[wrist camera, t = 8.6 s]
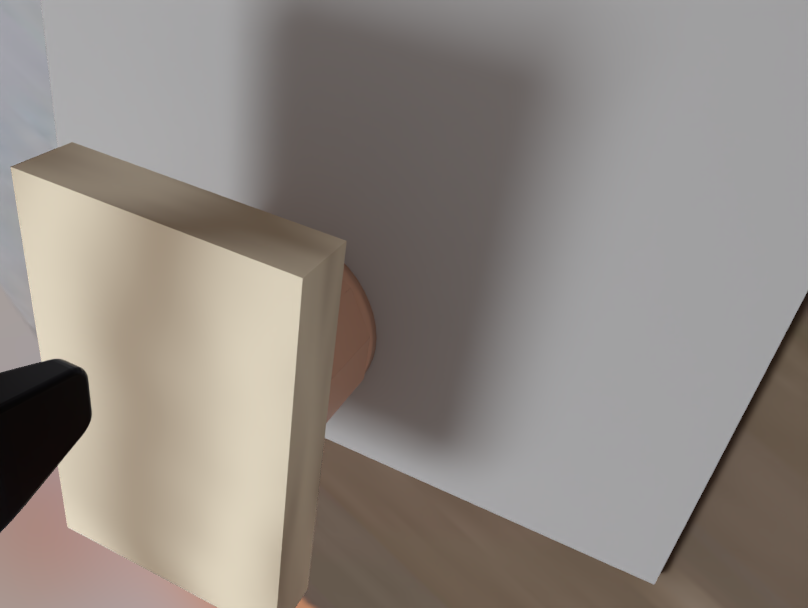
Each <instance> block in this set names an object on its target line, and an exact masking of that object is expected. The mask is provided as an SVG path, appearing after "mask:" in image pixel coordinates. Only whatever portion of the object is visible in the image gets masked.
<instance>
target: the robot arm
mask: <svg viewBox="0 0 808 608" xmlns="http://www.w3.org/2000/svg"><path fill="white" fill-rule="evenodd" d="M91 418H92V407H91V398H90V390H89V381H88V375H87V373H86V372H85V370H84V369H83V368H81V367H79V366H77V365H74V364H72V363H70V362H68V361H66V360H63V359H51V360H47V361H43V362H39V363H35V364H31V365H28V366H24V367H20V368H16V369H12V370H9V371H5V372H1V373H0V532H1V531H2V530H3V529H4V528H5V527H6V526H7V525H8V524H9V523H10V522H11V521H12V519H14V517H15V516H16V515H17V514H18V513H19V512H20V511H21V509H22V508H23V507H24V506H25V505H26V504H27V502H28V501H29V500H30V499H31V497H32V496H33V495H34V494H35V493H36V491H37V490H38V489H39V488H40V486H41V485H42V484H43V483H44V481H45V480H46V479H47V478H48V477H49V476H50V474H51V473H52V472H53V471H54V469H55V468H56V467H57V466H58V465H59V463H60V462H61V461H62V460H63V458H64V457H65V456H66V455H67V454H68V452H69V451H70V450H71V449H72V448H73V446H74V445H75V444H76V443H77V441H78V440H79V439H80V438H81V437H82V435H83V434H84V433H85V431H86V430H87V428H88V426H89V424H90V422H91Z"/></svg>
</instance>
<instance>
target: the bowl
mask: <svg viewBox="0 0 808 608" xmlns="http://www.w3.org/2000/svg"><path fill="white" fill-rule="evenodd" d="M376 339H377V336H376V324H375V319H374V314H373V311H372V308H371V305H370V302H369V300H368V298H367V296H366V293H365V291H364V290H363V288H362V286H361V284H360V283H359V281H358V279H357V278H356V277H355V275H354V274H353V273H352V271H351V270H350V269H349V268H348V266H347V265H346V264H345V263H344V270H343V278H342V287H341V296H340V305H339V314H338V323H337V332H336V341H335V350H334V359H333V368H332V377H331V385H330V394H329V403H328V412H327V421H326V423H327V422H328V421H329V419H330V418H331V417H332V416H333V415H334V414H335V412H336V411H337V410H338V409H339V408H340V406H341V405H342V404H343V403H344V402H345V401H346V399H347V398H348V397H349V396H350V395H351V393H352V392H353V391H354V390H355V389H356V387H357V386H358V385H359V384H360V383H361V382H362V380H363V379H364V375H365V373H366V372H367V370H368V368H369V367H370V365H371V362H372V360H373V358H374V353H375V349H376Z"/></svg>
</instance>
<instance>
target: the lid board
mask: <svg viewBox="0 0 808 608" xmlns="http://www.w3.org/2000/svg"><path fill="white" fill-rule="evenodd" d="M11 173H12V179H13V185H14V192H15V198H16V204H17V210H18V217H19V223H20V229H21V236H22V242H23V248H24V255H25V261H26V267H27V274H28V280H29V286H30V293H31V299H32V305H33V312H34V318H35V324H36V331H37V337H38V343H39V349H40V355H41V362H43V361H47V360H51V359H63V360H66V361H68V362H70V363H72V364H74V365H77V366H79V367H81V368H83V369H84V370H85V372H86V373H87V375H88V381H89V390H90V398H91V407H92V418H91V422H90V424H89V426H88V428H87V430H86V431H85V433H84V434H83V435H82V437H81V438H80V439H79V440H78V441H77V443H76V444H75V445H74V446H73V448H72V449H71V450H70V451H69V452H68V454H67V455H66V456H65V457H64V458H63V460H62V461H61V462H60V463H59V465H58V469H59V475H60V482H61V488H62V495H63V501H64V507H65V514H66V520H67V526H68V528H70V529H72V530H74V531H76V532H78V533H79V534H81V535H83V536H85V537H87V538H89V539H91V540H93V541H94V542H96V543H98V544H100V545H102V546H104V547H106V548H107V549H109V550H111V551H113V552H115V553H117V554H119V555H121V556H122V557H124V558H126V559H128V560H130V561H132V562H134V563H136V564H137V565H139V566H141V567H143V568H145V569H147V570H149V571H151V572H152V573H154V574H156V575H158V576H160V577H162V578H164V579H166V580H167V581H169V582H171V583H173V584H175V585H177V586H179V587H180V588H182V589H184V590H186V591H188V592H190V593H192V594H193V595H195V596H197V597H199V598H201V599H203V600H205V601H207V602H208V603H210V604H212V605H214V606H216V607H218V608H295V607H296V606H297V604H298V603H299V601H300V600H301V598H302V597H303V595H304V594H305V593H306V591H307V590H308V582H309V573H310V564H311V555H312V546H313V537H314V528H315V519H316V510H317V501H318V492H319V484H320V475H321V466H322V457H323V448H324V439H325V430H326V421H327V412H328V403H329V394H330V385H331V377H332V368H333V359H334V350H335V341H336V332H337V323H338V314H339V305H340V296H341V287H342V278H343V270H344V261H345V252H346V243H347V241H346V240H343V239H340V238H337V237H335V236H332V235H329V234H326V233H323V232H321V231H318V230H315V229H312V228H310V227H307V226H304V225H301V224H298V223H296V222H293V221H290V220H287V219H285V218H282V217H279V216H276V215H273V214H271V213H268V212H265V211H262V210H260V209H257V208H254V207H251V206H248V205H246V204H243V203H240V202H237V201H235V200H232V199H229V198H226V197H223V196H221V195H218V194H215V193H212V192H210V191H207V190H204V189H201V188H198V187H196V186H193V185H190V184H187V183H185V182H182V181H179V180H176V179H173V178H171V177H168V176H165V175H162V174H160V173H157V172H154V171H151V170H148V169H146V168H143V167H140V166H137V165H135V164H132V163H129V162H126V161H123V160H121V159H118V158H115V157H112V156H109V155H107V154H104V153H101V152H98V151H96V150H93V149H90V148H87V147H84V146H82V145H79V144H76V143H73V142H71V143H69V144H66V145H64V146H61V147H59V148H56V149H54V150H51V151H49V152H46V153H44V154H41V155H39V156H36V157H34V158H31V159H29V160H26V161H24V162H21V163H19V164H16V165H14V166H11Z"/></svg>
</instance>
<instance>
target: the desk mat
mask: <svg viewBox="0 0 808 608" xmlns="http://www.w3.org/2000/svg"><path fill="white" fill-rule="evenodd" d="M40 1H41V10H42V19H43V27H44V36H45V44H46V53H47V61H48V70H49V78H50V87H51V95H52V104H53V112H54V121H55V129H56V138H57V147H58V148H59V147H61V146H64V145H66V144H69V143H71V142H73V143H76V144H79V145H82V146H84V147H87V148H90V149H93V150H96V151H98V152H101V153H104V154H107V155H109V156H112V157H115V158H118V159H121V160H123V161H126V162H129V163H132V164H135V165H137V166H140V167H143V168H146V169H148V170H151V171H154V172H157V173H160V174H162V175H165V176H168V177H171V178H173V179H176V180H179V181H182V182H185V183H187V184H190V185H193V186H196V187H198V188H201V189H204V190H207V191H210V192H212V193H215V194H218V195H221V196H223V197H226V198H229V199H232V200H235V201H237V202H240V203H243V204H246V205H248V206H251V207H254V208H257V209H260V210H262V211H265V212H268V213H271V214H273V215H276V216H279V217H282V218H285V219H287V220H290V221H293V222H296V223H298V224H301V225H304V226H307V227H310V228H312V229H315V230H318V231H321V232H323V233H326V234H329V235H332V236H335V237H337V238H340V239H343V240H346V241H347V243H346V252H345V261H344V263H345V264H346V265H347V266H348V268H349V269H350V270H351V271H352V273H353V274H354V275H355V277H356V278H357V279H358V281H359V283H360V284H361V286H362V288H363V290H364V291H365V293H366V296H367V298H368V300H369V302H370V305H371V308H372V311H373V314H374V319H375V324H376V336H377V339H376V349H375V353H374V358H373V360H372V362H371V365H370V367H369V368H368V370H367V372H366V373H365V375H364V379H363V380H362V382H361V383H360V384H359V385H358V386H357V387H356V389H355V390H354V391H353V392H352V393H351V395H350V396H349V397H348V398H347V399H346V401H345V402H344V403H343V404H342V405H341V406H340V408H339V409H338V410H337V411H336V412H335V414H334V415H333V416H332V417H331V418H330V419H329V421H328V422H327V423H326V430H325V438H326V439H329V440H331V441H333V442H335V443H338V444H340V445H342V446H344V447H347V448H349V449H351V450H353V451H356V452H358V453H360V454H362V455H365V456H367V457H369V458H371V459H374V460H376V461H378V462H380V463H383V464H385V465H387V466H389V467H392V468H394V469H396V470H398V471H400V472H403V473H405V474H407V475H409V476H412V477H414V478H416V479H418V480H421V481H423V482H425V483H427V484H430V485H432V486H434V487H436V488H439V489H441V490H443V491H445V492H448V493H450V494H452V495H454V496H457V497H459V498H461V499H463V500H466V501H468V502H470V503H472V504H474V505H477V506H479V507H481V508H483V509H486V510H488V511H490V512H492V513H495V514H497V515H499V516H501V517H504V518H506V519H508V520H510V521H513V522H515V523H517V524H519V525H522V526H524V527H526V528H528V529H531V530H533V531H535V532H537V533H540V534H542V535H544V536H546V537H548V538H551V539H553V540H555V541H557V542H560V543H562V544H564V545H566V546H569V547H571V548H573V549H575V550H578V551H580V552H582V553H584V554H587V555H589V556H591V557H593V558H596V559H598V560H600V561H602V562H605V563H607V564H609V565H611V566H614V567H616V568H618V569H620V570H622V571H625V572H627V573H629V574H631V575H634V576H636V577H638V578H640V579H643V580H645V581H647V582H649V583H652V584H655V582H656V580H657V578H658V576H659V575H660V573H661V571H662V569H663V567H664V565H665V563H666V561H667V559H668V557H669V555H670V553H671V552H672V550H673V548H674V546H675V544H676V542H677V540H678V538H679V536H680V534H681V532H682V531H683V529H684V527H685V525H686V523H687V521H688V519H689V517H690V515H691V513H692V511H693V509H694V508H695V506H696V504H697V502H698V500H699V498H700V496H701V494H702V492H703V490H704V488H705V486H706V485H707V483H708V481H709V479H710V477H711V475H712V473H713V471H714V469H715V467H716V465H717V464H718V462H719V460H720V458H721V456H722V454H723V452H724V450H725V448H726V446H727V444H728V442H729V441H730V439H731V437H732V435H733V433H734V431H735V429H736V427H737V425H738V423H739V421H740V419H741V418H742V416H743V414H744V412H745V410H746V408H747V406H748V404H749V402H750V400H751V398H752V396H753V395H754V393H755V391H756V389H757V387H758V385H759V383H760V381H761V379H762V377H763V375H764V374H765V372H766V370H767V368H768V366H769V364H770V362H771V360H772V358H773V356H774V354H775V352H776V351H777V349H778V347H779V345H780V343H781V341H782V339H783V337H784V335H785V333H786V331H787V329H788V328H789V326H790V324H791V322H792V320H793V318H794V316H795V314H796V312H797V310H798V308H799V307H800V305H801V303H802V301H803V299H804V297H805V295H806V293H807V291H808V0H40Z"/></svg>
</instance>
